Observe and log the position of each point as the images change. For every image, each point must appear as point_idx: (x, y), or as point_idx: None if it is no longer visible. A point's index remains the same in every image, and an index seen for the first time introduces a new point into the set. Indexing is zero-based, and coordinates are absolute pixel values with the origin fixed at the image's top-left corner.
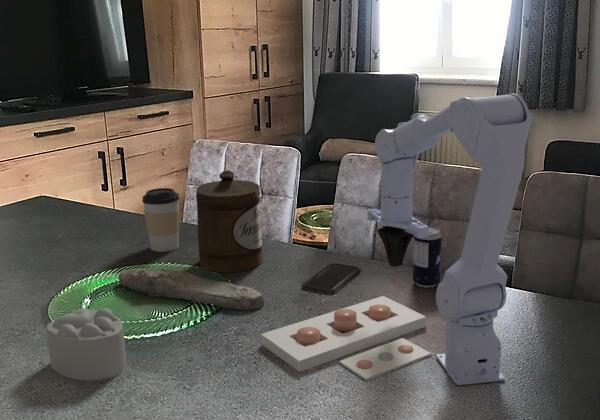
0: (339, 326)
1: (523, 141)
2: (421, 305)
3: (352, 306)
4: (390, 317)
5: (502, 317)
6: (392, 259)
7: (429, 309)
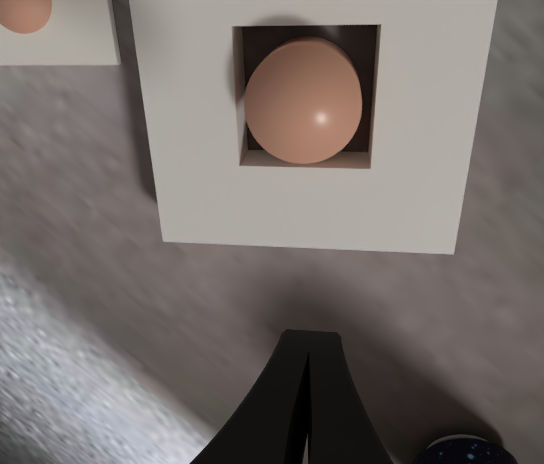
0: None
1: None
2: None
3: (478, 40)
4: None
5: (114, 426)
6: (278, 362)
7: None
